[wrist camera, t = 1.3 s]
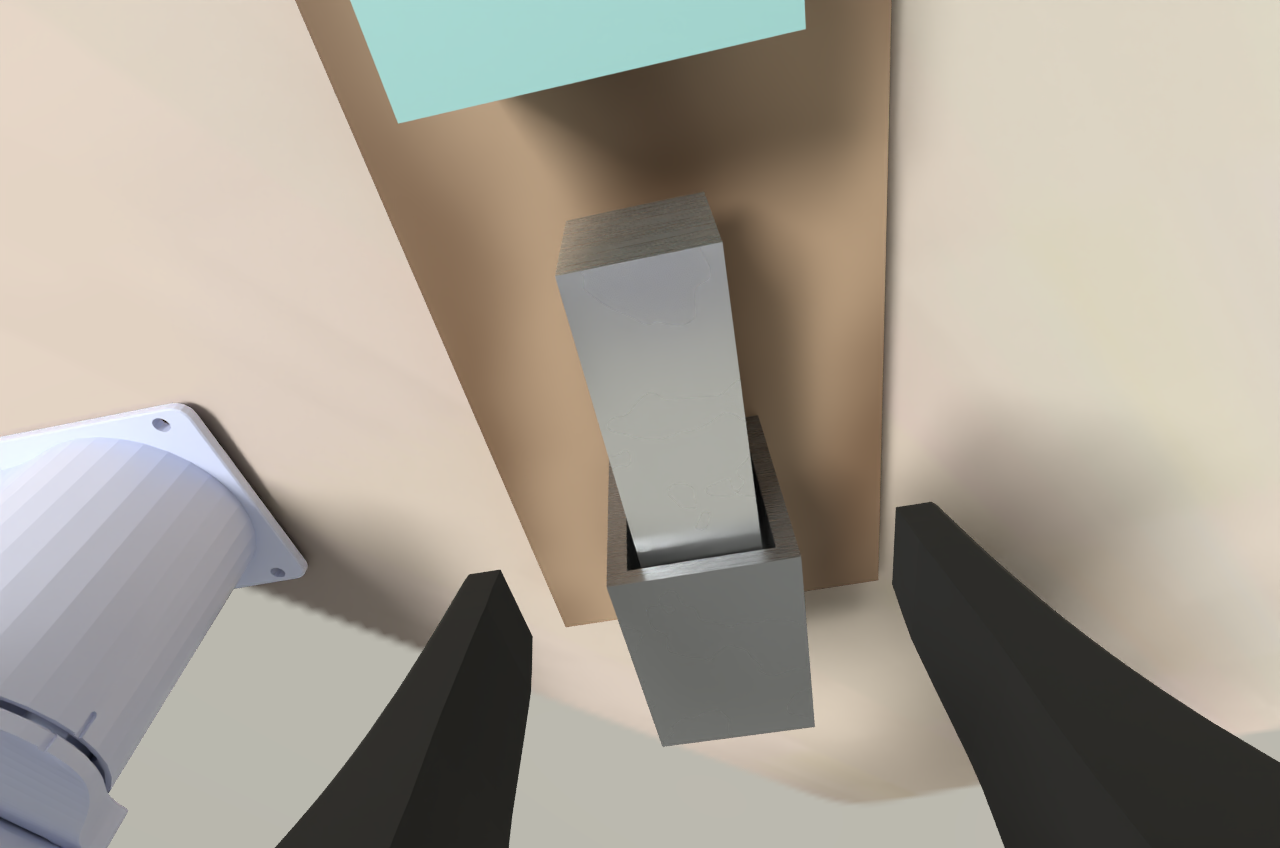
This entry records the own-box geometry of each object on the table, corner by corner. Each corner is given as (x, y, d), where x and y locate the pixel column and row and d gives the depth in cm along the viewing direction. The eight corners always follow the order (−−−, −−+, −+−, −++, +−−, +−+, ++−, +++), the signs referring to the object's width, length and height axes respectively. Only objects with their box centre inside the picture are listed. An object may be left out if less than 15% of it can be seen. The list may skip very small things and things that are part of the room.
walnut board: (568, 596, 26) (565, 627, 25) (245, -192, 13) (204, -209, 11) (865, 550, 25) (878, 580, 24) (871, -373, 11) (901, -411, 10)
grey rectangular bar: (669, 602, 21) (676, 685, 19) (566, 220, 14) (554, 275, 11) (759, 589, 21) (777, 671, 19) (704, 191, 14) (722, 242, 11)
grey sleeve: (654, 596, 24) (662, 746, 20) (609, 441, 20) (606, 587, 15) (776, 577, 24) (814, 726, 19) (757, 415, 20) (801, 556, 15)
